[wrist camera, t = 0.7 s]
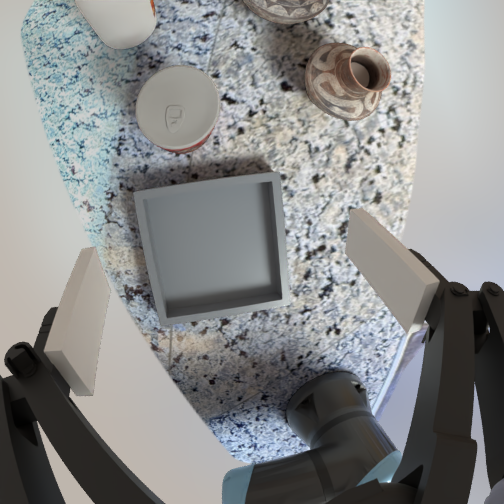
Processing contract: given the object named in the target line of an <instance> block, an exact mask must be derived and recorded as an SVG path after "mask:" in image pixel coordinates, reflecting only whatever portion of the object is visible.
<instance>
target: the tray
mask: <svg viewBox="0 0 504 504" xmlns="http://www.w3.org/2000/svg"><path fill="white" fill-rule="evenodd" d="M133 195H134V201H135V207H136V213H137V219H138V225H139V230H140V236H141V241H142V246H143V251H144V256H145V261H146V266H147V270H148V275H149V279H150V284H151V288H152V292H153V297H154V301H155V305H156V309H157V313H158V317H159V321H160V325H161V326H166V325H173V324H180V323H187V322H194V321H200V320H207V319H213V318H219V317H225V316H232V315H237V314H243V313H249V312H255V311H260V310H266V309H271V308H277V307H282V306H287V305H290V290H289V275H288V262H287V249H286V236H285V224H284V213H283V201H282V191H281V180H280V172H275V171H272V172H262V173H253V174H245V175H236V176H228V177H220V178H213V179H206V180H199V181H192V182H185V183H179V184H173V185H167V186H160V187H155V188H149V189H143V190H138V191H136V192H133Z"/></svg>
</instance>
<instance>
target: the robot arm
mask: <svg viewBox="0 0 504 504" xmlns="http://www.w3.org/2000/svg"><path fill="white" fill-rule="evenodd" d="M345 254H346V255H347V256H348V257H349V259H350V260H351V261H352V262H353V264H354V265H355V266H356V267H357V269H358V270H359V271H360V272H361V274H362V275H363V276H364V277H365V279H366V280H367V281H368V283H369V284H370V285H371V286H372V288H373V289H374V290H375V292H376V293H377V294H378V295H379V297H380V298H381V299H382V301H383V302H384V303H385V305H386V306H387V307H388V309H389V310H390V311H391V313H392V314H393V315H394V317H395V318H396V319H397V321H398V322H399V323H400V325H401V326H402V328H403V329H404V330H405V332H406V333H407V334H411V333H413V332H416V331H419V330H421V328H422V325H423V323H424V321H425V320H426V322H427V323H428V324H429V327H428V329H427V331H426V333H425V336H424V338H423V340H422V342H421V343H424V341H425V340H426V342H425V350H424V358H423V364H422V372H421V377H420V383H419V388H418V394H417V399H416V404H415V409H414V413H413V418H412V422H411V427H410V431H409V434H408V438H407V442H406V446H405V449H404V453H403V456H402V455H401V452H400V451H399V450H398V449H397V448H396V447H395V445H394V444H393V443H392V441H391V440H390V438H389V437H388V436H387V434H386V433H385V431H384V430H383V429H382V427H381V426H380V424H379V423H378V422H377V420H376V419H375V417H374V416H373V415H372V412H371V407H370V402H369V397H368V393H367V390H366V388H365V386H364V384H363V383H362V382H361V380H360V379H359V378H358V377H357V376H355V375H354V374H351V373H348V372H333V373H328V374H324V375H322V376H319V377H317V378H315V379H313V380H311V381H309V382H308V383H306V384H305V385H304V386H302V387H301V388H300V389H299V390H298V391H297V392H296V393H295V394H294V395H293V396H292V398H291V399H290V401H289V403H288V405H287V409H286V417H287V420H288V423H289V425H290V428H291V429H292V431H293V432H294V433H295V434H296V435H297V436H298V437H299V438H300V439H301V440H302V441H303V442H304V443H306V444H307V445H308V446H309V447H310V449H311V450H308V451H304V452H301V453H297V454H294V455H290V456H286V457H282V458H279V459H275V460H270V461H266V462H262V463H257V464H256V462H255V463H252V464H251V465H248V466H244V467H239V468H235V469H232V470H230V471H228V472H227V473H226V475H225V476H224V479H223V484H222V504H467V503H468V498H469V494H470V489H471V484H472V479H473V473H474V468H475V461H476V455H477V442H476V440H473V439H471V426H472V416H473V401H474V381H475V386H476V391H477V396H478V401H479V407H480V413H481V419H482V427H483V435H484V443H485V453H486V465H487V473H488V478H489V484H490V488H491V492H490V495H489V496H488V497H487V498H486V500H485V502H484V504H504V291H503V290H502V288H501V287H500V286H498V285H497V284H495V283H493V282H484V283H483V284H482V287H481V289H480V291H469V290H468V288H467V287H465V286H464V285H463V284H460V283H458V282H448V281H447V280H446V279H445V278H444V277H443V276H442V275H441V274H440V273H439V272H438V271H437V270H436V269H435V268H434V267H433V266H432V265H431V264H430V263H429V262H428V261H426V259H425V258H424V257H423V256H422V255H421V254H419V253H417V252H416V251H414V250H412V249H407V248H406V247H405V246H404V245H403V244H402V243H401V242H400V241H399V240H398V239H396V238H395V237H394V236H393V235H392V234H391V233H390V232H389V231H388V230H387V229H386V228H384V227H383V226H382V225H381V224H380V223H379V222H378V221H377V220H376V219H374V218H373V217H372V216H371V215H370V214H369V213H368V212H366V211H365V210H364V209H363V208H359V209H350V218H349V226H348V235H347V243H346V250H345ZM110 292H111V289H110V287H109V284H108V281H107V279H106V276H105V273H104V270H103V268H102V265H101V262H100V259H99V256H98V253H97V250H96V247H90V248H85V249H82V250H81V252H80V254H79V257H78V259H77V261H76V264H75V266H74V268H73V271H72V273H71V276H70V278H69V281H68V283H67V286H66V288H65V291H64V293H63V296H62V299H61V301H60V304H59V307H53V308H51V309H50V310H49V311H48V312H47V314H46V315H45V316H44V319H43V322H42V327H41V328H40V330H39V334H38V336H37V339H36V342H35V345H34V348H32V346H31V345H30V344H29V343H27V342H19V343H17V344H15V345H13V346H12V347H11V348H10V349H9V350H8V352H7V353H6V355H5V359H4V362H5V365H6V367H7V368H8V369H9V370H10V372H11V373H12V374H13V375H12V376H9V377H6V378H2V377H1V376H0V504H66V503H65V501H64V499H63V496H62V494H61V492H60V489H59V487H58V484H57V482H56V479H55V477H54V474H53V471H52V469H51V466H50V463H49V460H48V457H47V454H46V451H45V448H44V445H43V442H42V438H41V435H40V431H39V428H38V424H37V421H38V422H39V424H40V426H41V427H42V429H43V431H44V432H45V434H46V436H47V437H48V439H49V441H50V442H51V444H52V445H53V447H54V449H55V450H56V452H57V453H58V455H59V456H60V458H61V459H62V461H63V462H64V464H65V465H66V466H67V468H68V469H69V471H70V472H71V474H72V475H73V476H74V478H75V479H76V480H77V482H78V483H79V484H80V486H81V487H82V488H83V490H84V491H85V492H86V493H87V495H88V496H89V497H90V498H91V500H92V501H93V502H94V503H95V504H165V503H164V502H163V501H162V500H160V498H158V497H157V496H156V495H155V494H154V493H153V492H152V491H151V490H150V489H149V488H148V487H147V486H146V485H145V484H144V483H143V482H141V480H139V479H138V477H137V476H136V475H135V474H134V473H133V472H132V471H131V470H130V469H129V468H127V466H126V465H125V464H124V463H123V462H122V461H121V460H120V459H119V458H118V457H117V455H116V454H115V453H114V452H113V451H112V450H111V449H110V447H109V446H108V445H107V444H106V443H105V442H104V440H103V439H102V438H101V437H100V436H99V434H98V433H97V432H96V431H95V430H94V428H93V427H92V426H91V425H90V423H89V422H88V421H87V419H86V418H85V417H84V415H83V414H82V413H81V411H80V410H79V409H78V407H77V406H76V405H75V403H74V402H73V401H72V399H71V398H70V397H69V393H70V388H71V389H72V391H73V392H74V393H75V394H76V395H77V396H93V392H94V384H95V376H96V369H97V362H98V356H99V349H100V343H101V337H102V332H103V327H104V321H105V316H106V311H107V306H108V302H109V297H110ZM489 327H490V333H489V330H488V328H489Z"/></svg>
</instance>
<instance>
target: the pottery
mask: <svg viewBox="0 0 504 504" xmlns="http://www.w3.org/2000/svg"><path fill="white" fill-rule="evenodd" d="M243 1H244V3H245V4H246V5H247V6H248V8H249V9H250V10H252V11H253V12H254V13H255V14H257V15H258V16H260V17H262V18H264V19H266V20H268V21H271V22H274V23H279V24H295V23H300V22H304V21H307V20H309V19H312V18H314V17H315V16H317V15H318V14H319V13H321V12H322V11H323V10H324V9H325V8H326V6H327V4H328V2H329V0H243ZM304 78H305V79H304V81H305V87H306V90H307V94H308V96H309V98H310V100H311V101H312V102H313V103H314V104H315V105H316V106H317V107H319V108H320V109H321V110H322V111H324V112H325V113H327V114H329V115H331V116H333V117H335V118H338V119H343V120H349V121H352V120H360V119H363V118H365V117H367V116H369V115H370V114H371V113H372V112H373V111H374V110H375V109H376V108H377V106H378V104H379V101H380V98H381V94H382V90H384V89H385V88H387V86H388V85H389V83H390V80H391V70H390V67H389V64H388V62H387V61H386V59H385V58H384V57H383V55H381V54H380V53H379V52H378V51H376V50H374V49H372V48H369V47H360V48H356V47H354V46H351V45H349V44H344V43H329V44H325V45H323V46H321V47H319V48H318V49H316V50H315V51H314V53H313V54H312V55H311V57H310V59H309V61H308V63H307V66H306V69H305V76H304Z"/></svg>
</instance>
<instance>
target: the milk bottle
mask: <svg viewBox="0 0 504 504" xmlns="http://www.w3.org/2000/svg"><path fill="white" fill-rule="evenodd" d="M74 1H75V3H76V5H77V7H78V9H79V10H80V12H81V13H82V15H83V16H84V17H85V19H86V20H87V22H88V23H89V24H90V26H91V27H92V28H93V30H94V31H95V32H96V34H97V35H98V36H99V37H100V39H101V40H102V41H103V42H104V43H105V44H106V45H107V46H109V47H111V48H114V49H129V48H132V47H135V46H137V45H139V44H141V43H142V42H144V41H145V40H146V39H147V38H148V37H149V36H150V35H151V34H152V32H153V31H154V29H155V27H156V23H157V16H156V11H155V6H154V2H153V0H74Z"/></svg>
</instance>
